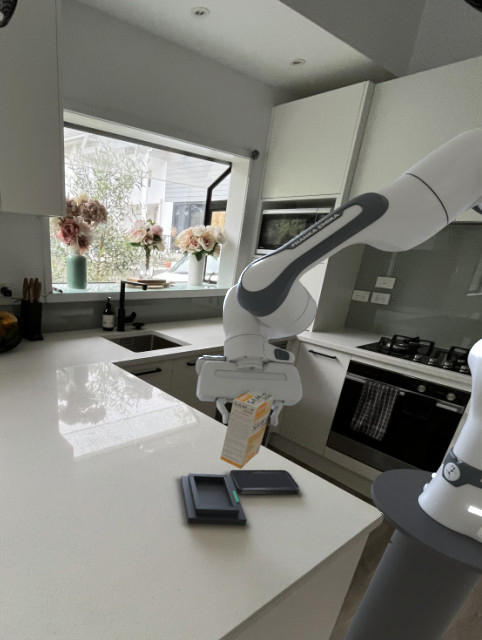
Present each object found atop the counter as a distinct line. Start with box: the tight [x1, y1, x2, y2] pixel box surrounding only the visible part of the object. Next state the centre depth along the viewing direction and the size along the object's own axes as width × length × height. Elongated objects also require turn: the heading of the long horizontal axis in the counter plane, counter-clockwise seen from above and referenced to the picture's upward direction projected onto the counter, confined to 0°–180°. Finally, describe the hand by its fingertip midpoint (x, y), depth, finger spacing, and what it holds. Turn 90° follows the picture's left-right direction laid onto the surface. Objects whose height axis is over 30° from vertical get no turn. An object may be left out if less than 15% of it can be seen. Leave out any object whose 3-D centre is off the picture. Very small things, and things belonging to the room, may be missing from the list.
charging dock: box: [180, 472, 248, 526], centre depth 83 cm, size 12×14×3 cm
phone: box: [228, 469, 300, 495], centre depth 90 cm, size 8×1×15 cm
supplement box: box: [220, 391, 274, 470], centre depth 71 cm, size 8×5×13 cm, turn 141°
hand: (250, 424), depth 71 cm, fingers closed on supplement box, 7 cm apart
